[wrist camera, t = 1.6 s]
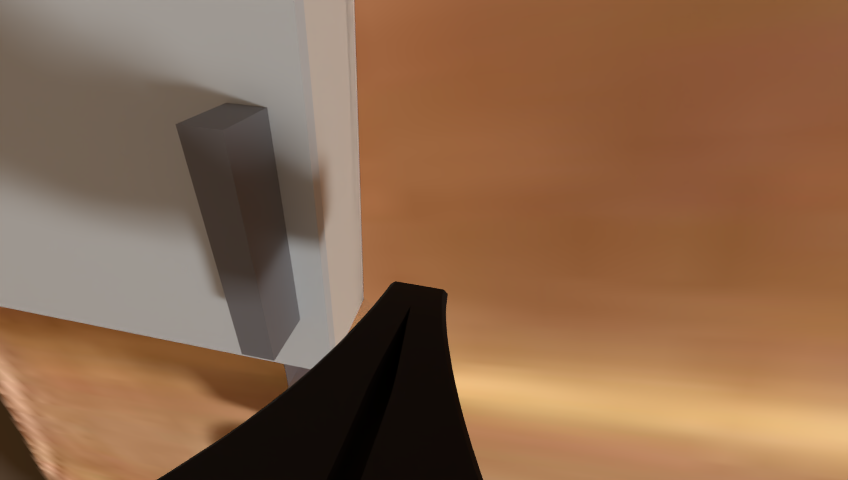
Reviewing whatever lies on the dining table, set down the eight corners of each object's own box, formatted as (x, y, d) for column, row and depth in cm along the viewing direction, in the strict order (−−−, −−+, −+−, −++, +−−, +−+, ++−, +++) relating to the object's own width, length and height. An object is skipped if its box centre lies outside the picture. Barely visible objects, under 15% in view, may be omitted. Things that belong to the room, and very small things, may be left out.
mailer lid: (337, 364, 17) (312, 416, 15) (-25, 292, 19) (-89, 329, 17) (301, -17, 9) (242, -17, 7) (-290, -64, 12) (-463, -74, 10)
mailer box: (363, 299, 21) (335, 359, 17) (63, 246, 23) (-13, 290, 20) (353, -22, 13) (298, -23, 10) (-101, -57, 15) (-272, -67, 12)
